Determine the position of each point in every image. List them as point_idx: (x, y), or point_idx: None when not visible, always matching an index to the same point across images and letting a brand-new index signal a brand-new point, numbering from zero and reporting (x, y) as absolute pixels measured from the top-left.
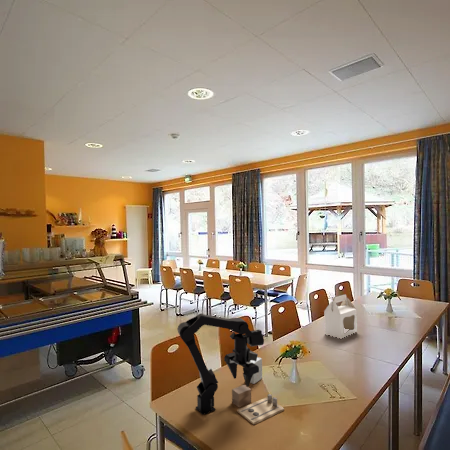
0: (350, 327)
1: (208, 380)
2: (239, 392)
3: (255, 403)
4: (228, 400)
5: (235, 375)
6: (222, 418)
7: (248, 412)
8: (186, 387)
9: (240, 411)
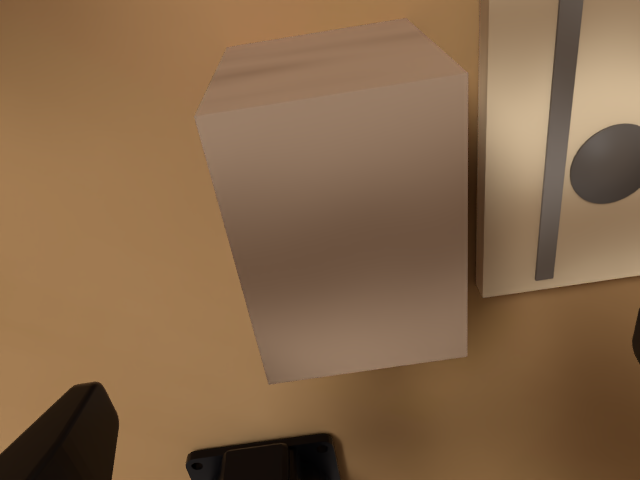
0: None
1: None
2: (433, 328)
3: (524, 5)
4: (210, 274)
5: (81, 466)
6: (477, 421)
7: (619, 213)
8: None
9: (536, 280)
